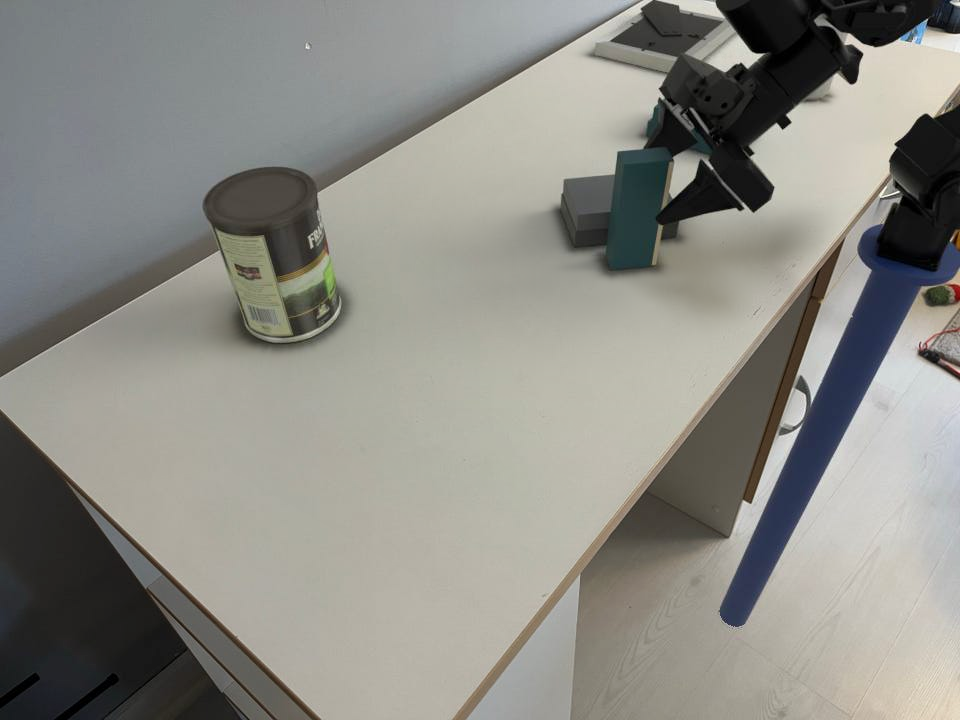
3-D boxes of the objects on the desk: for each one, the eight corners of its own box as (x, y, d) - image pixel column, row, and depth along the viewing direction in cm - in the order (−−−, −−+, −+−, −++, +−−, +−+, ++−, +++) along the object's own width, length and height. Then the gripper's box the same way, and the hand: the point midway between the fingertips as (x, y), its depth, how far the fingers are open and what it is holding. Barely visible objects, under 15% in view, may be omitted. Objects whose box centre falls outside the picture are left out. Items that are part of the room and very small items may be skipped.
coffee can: (340, 274, 80) (316, 160, 70) (342, 336, 72) (315, 219, 62) (246, 285, 79) (208, 171, 69) (239, 349, 71) (195, 232, 61)
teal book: (648, 251, 81) (666, 146, 72) (655, 266, 79) (675, 159, 70) (604, 256, 80) (617, 150, 71) (610, 270, 79) (624, 164, 69)
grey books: (656, 199, 88) (661, 167, 85) (676, 237, 83) (683, 204, 79) (560, 208, 87) (562, 177, 84) (574, 247, 82) (576, 214, 79)
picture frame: (651, 15, 131) (594, 55, 119) (653, -1, 129) (596, 37, 117) (734, 33, 124) (682, 76, 112) (737, 16, 122) (685, 58, 110)
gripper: (694, -11, 69) (574, 108, 76) (774, 69, 56) (620, 204, 63) (753, 64, 75) (637, 168, 82) (837, 153, 62) (690, 266, 69)
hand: (644, 197), depth 74 cm, fingers open, 9 cm apart
